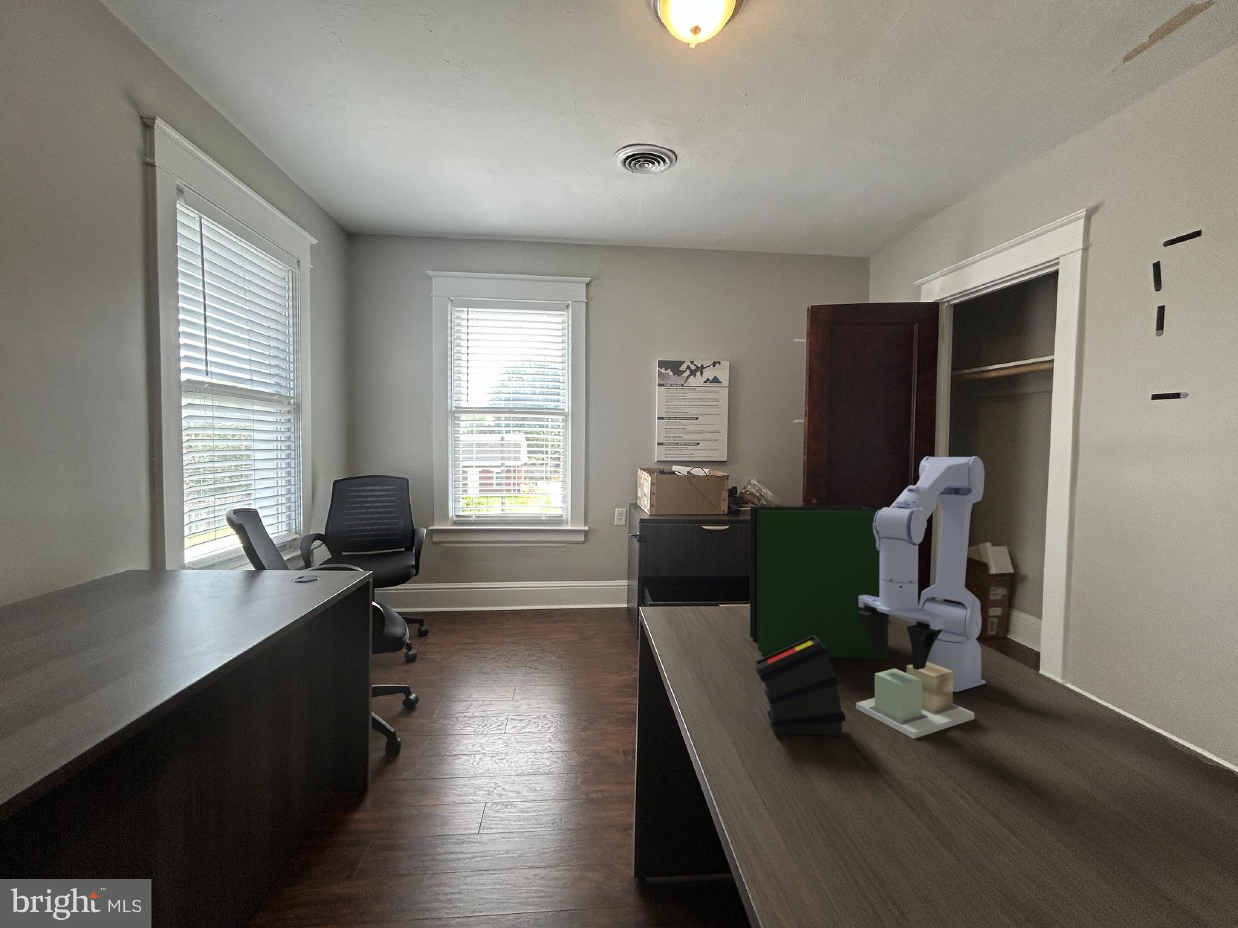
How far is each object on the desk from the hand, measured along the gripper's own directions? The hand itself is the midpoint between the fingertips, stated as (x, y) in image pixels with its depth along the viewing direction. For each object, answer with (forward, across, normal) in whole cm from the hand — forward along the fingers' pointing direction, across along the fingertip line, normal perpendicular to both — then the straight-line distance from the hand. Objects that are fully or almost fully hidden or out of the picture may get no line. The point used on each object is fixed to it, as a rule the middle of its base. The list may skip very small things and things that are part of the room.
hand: (898, 659), depth 89 cm
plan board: (+10, 0, +4) cm, 11 cm away
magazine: (+10, -4, -18) cm, 21 cm away
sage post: (+9, 0, 0) cm, 9 cm away
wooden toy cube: (+9, 0, +8) cm, 12 cm away
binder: (+10, -32, +13) cm, 36 cm away
